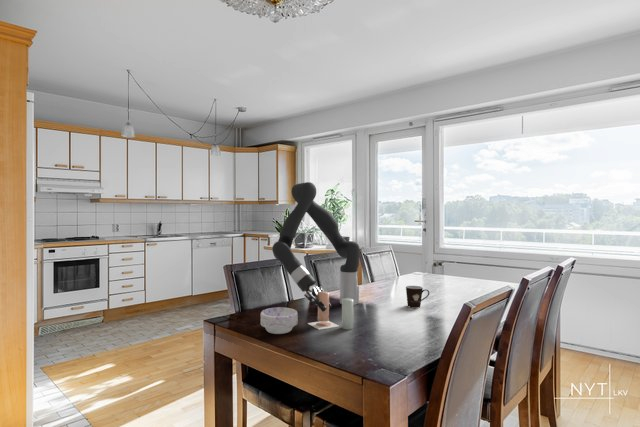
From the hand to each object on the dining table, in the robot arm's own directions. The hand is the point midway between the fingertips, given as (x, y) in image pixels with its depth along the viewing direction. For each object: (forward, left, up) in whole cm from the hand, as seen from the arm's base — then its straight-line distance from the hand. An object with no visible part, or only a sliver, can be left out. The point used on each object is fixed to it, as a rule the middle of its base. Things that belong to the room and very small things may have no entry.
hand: (327, 308), depth 171 cm
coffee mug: (-59, -8, -8) cm, 60 cm away
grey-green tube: (-6, +6, -7) cm, 11 cm away
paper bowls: (+21, -4, -8) cm, 23 cm away
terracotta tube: (+1, -2, -5) cm, 6 cm away
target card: (+1, -2, -7) cm, 8 cm away
